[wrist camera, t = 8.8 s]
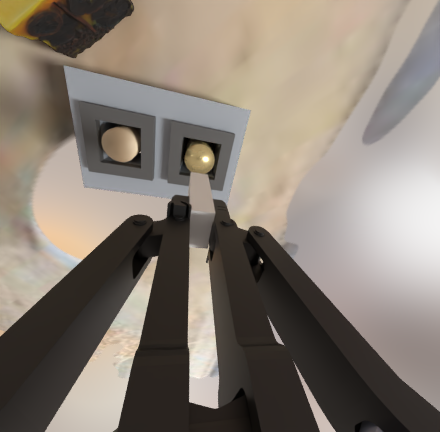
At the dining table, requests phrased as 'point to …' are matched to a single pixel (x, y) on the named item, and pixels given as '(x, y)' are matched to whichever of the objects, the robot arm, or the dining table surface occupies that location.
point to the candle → (63, 21)
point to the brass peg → (199, 156)
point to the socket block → (151, 135)
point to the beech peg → (122, 142)
